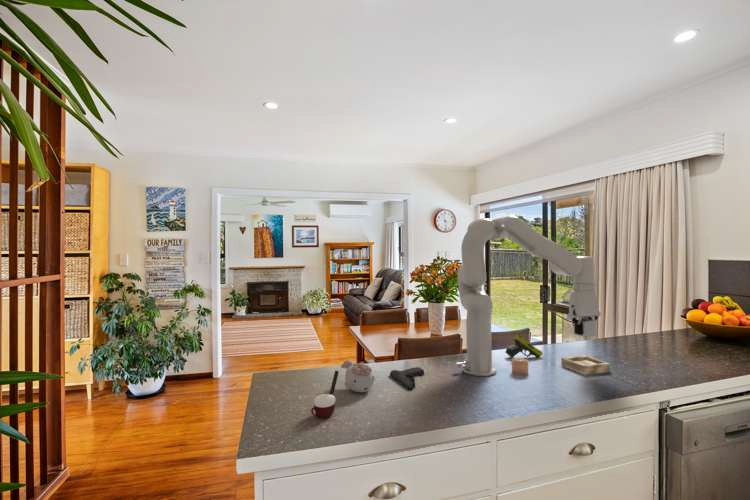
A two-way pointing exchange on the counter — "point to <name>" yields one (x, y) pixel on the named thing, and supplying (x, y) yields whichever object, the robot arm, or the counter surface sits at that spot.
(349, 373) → the toy
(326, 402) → the cocoa
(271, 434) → the counter surface
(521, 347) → the toy gun
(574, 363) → the wooden tray
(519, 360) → the tan square block
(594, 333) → the housing
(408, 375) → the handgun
